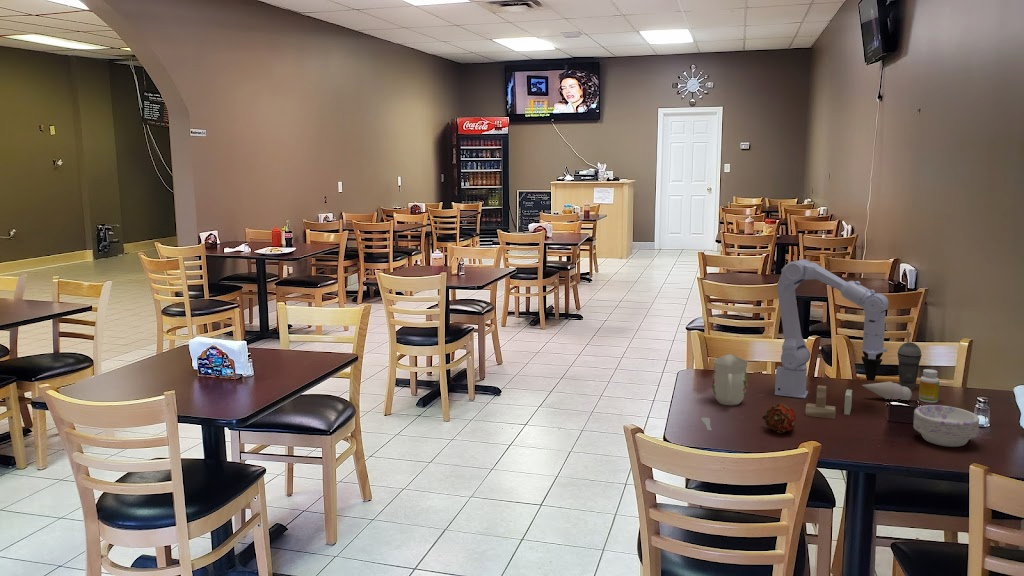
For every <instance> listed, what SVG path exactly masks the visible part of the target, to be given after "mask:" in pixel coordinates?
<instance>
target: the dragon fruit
mask: <svg viewBox="0 0 1024 576" xmlns="http://www.w3.org/2000/svg"><path fill="white" fill-rule="evenodd" d="M796 415H797V414H796V411H795V410H794V409H793V408H791V407H789V405H787V404H786V403H784V402H781V403H779V404H775V405H772V406H771V407H769V408H768V410H766V412H765V414H763V415H762V416H761V418H762V420H763V421H764V423H765V425H766V426H767V428H769V429H770V430H772V431H775V432H776V433H779V434H784V433H786V431H787V432H792V431H794V429H795V423H796V421H797V419H796V417H797V416H796Z"/></svg>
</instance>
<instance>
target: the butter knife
mask: <svg viewBox="0 0 1024 576" xmlns="http://www.w3.org/2000/svg"><path fill="white" fill-rule="evenodd" d="M700 419H701V421H702V422H703V424H704V425H705V427H706V431H713V430H712V429H713V428H712V427H711V419H710V417H701V418H700Z"/></svg>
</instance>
